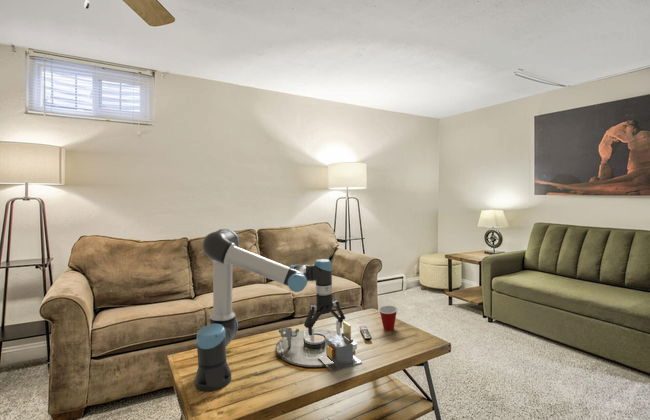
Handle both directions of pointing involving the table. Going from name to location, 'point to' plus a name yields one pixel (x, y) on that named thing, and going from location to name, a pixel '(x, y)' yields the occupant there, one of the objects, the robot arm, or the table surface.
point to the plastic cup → (388, 317)
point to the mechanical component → (288, 334)
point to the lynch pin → (331, 351)
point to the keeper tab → (346, 330)
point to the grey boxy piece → (341, 353)
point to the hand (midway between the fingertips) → (325, 338)
